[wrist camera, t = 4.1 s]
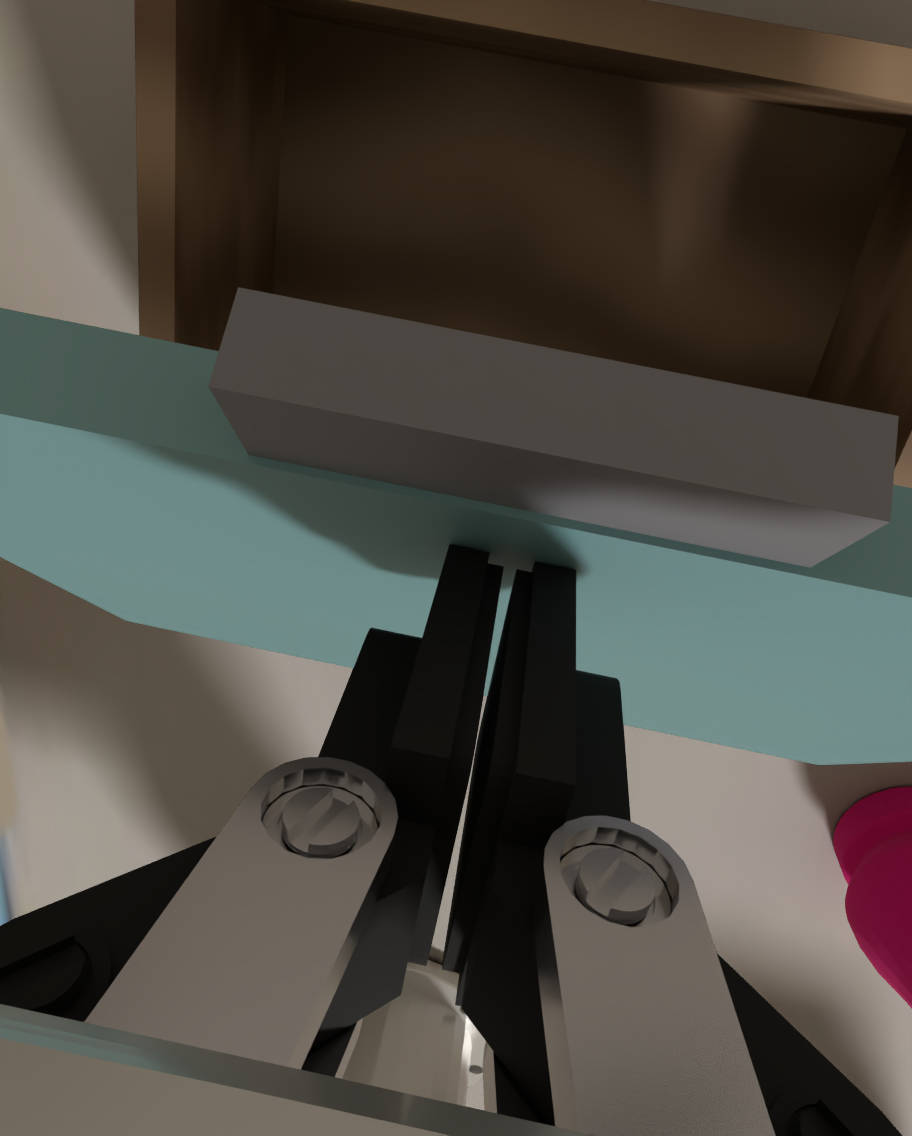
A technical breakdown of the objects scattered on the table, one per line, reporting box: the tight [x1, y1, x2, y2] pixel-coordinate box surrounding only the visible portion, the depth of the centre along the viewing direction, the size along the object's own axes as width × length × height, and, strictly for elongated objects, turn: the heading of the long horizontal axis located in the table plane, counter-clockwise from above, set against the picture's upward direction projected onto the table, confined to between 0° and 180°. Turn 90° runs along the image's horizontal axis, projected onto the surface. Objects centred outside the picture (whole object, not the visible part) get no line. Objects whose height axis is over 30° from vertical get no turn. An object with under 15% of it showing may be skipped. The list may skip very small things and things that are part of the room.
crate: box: [135, 0, 912, 488], centre depth 27 cm, size 18×22×10 cm
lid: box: [0, 287, 912, 765], centre depth 17 cm, size 20×22×1 cm
